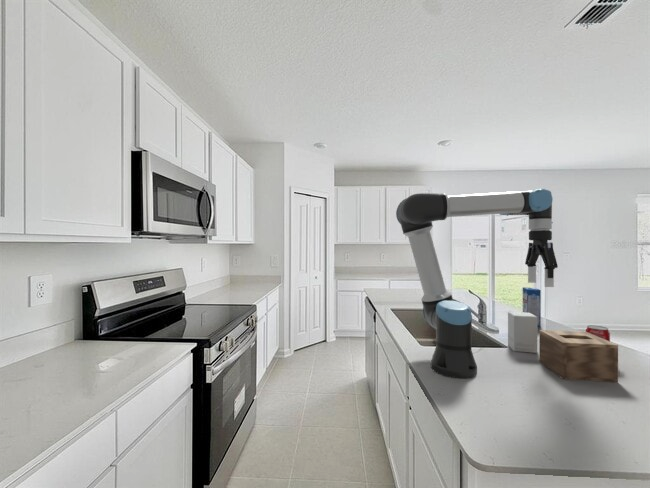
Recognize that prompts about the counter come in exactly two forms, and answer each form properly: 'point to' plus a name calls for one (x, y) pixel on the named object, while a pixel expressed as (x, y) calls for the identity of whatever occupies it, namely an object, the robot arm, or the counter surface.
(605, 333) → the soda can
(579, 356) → the coin box
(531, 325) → the supplement box
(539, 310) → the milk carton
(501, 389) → the counter surface
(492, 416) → the counter surface
